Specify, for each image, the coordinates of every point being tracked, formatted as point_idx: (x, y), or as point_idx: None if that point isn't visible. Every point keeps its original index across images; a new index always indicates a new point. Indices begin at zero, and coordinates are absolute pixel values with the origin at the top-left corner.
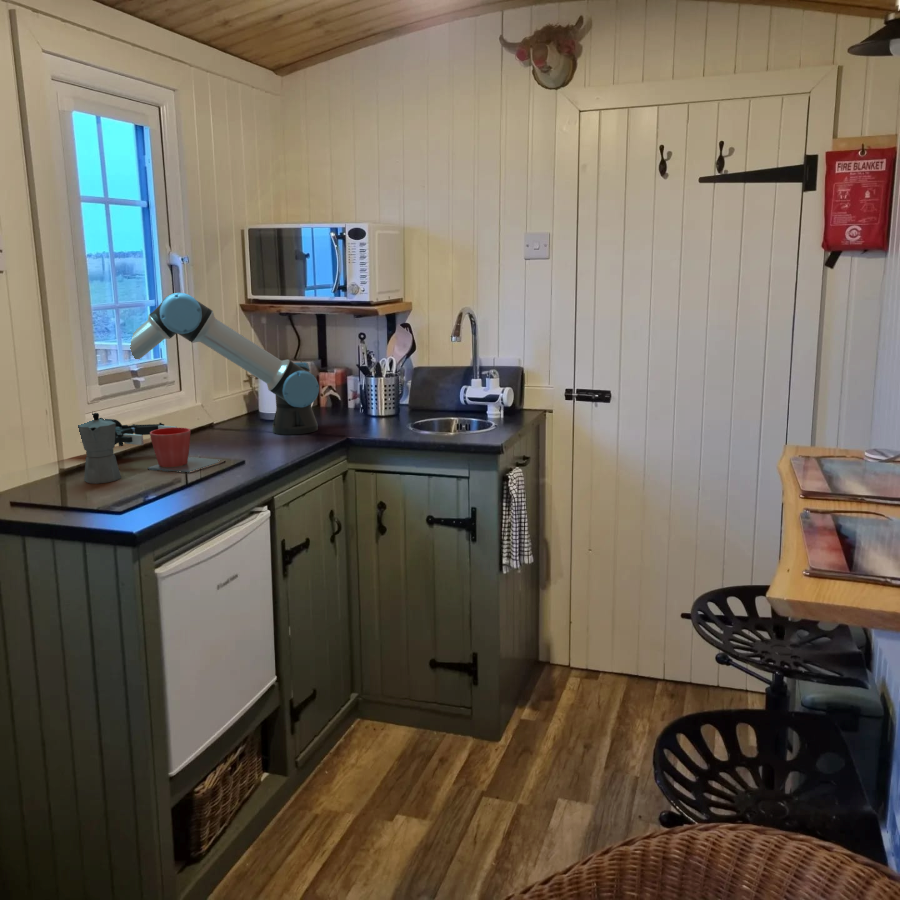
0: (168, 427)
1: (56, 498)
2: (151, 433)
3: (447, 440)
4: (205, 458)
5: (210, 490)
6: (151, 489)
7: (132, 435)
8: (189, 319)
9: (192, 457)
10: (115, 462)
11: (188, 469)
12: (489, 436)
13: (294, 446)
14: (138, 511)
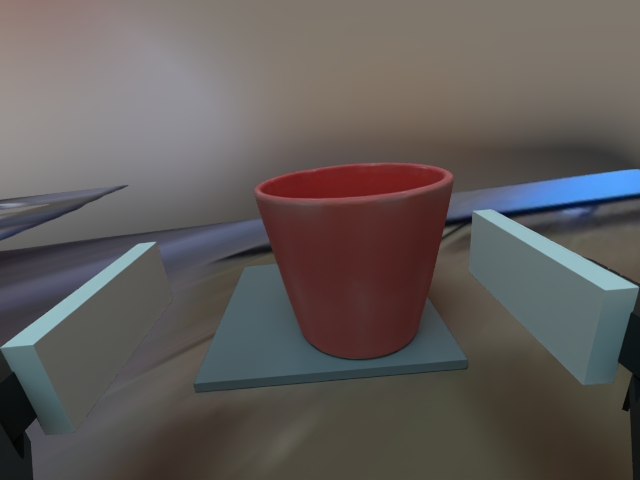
0: (126, 276)
1: None
2: (448, 177)
3: (74, 201)
4: (229, 306)
5: (456, 200)
6: (557, 232)
7: (539, 241)
8: None
9: (214, 346)
10: None
11: None
12: (62, 195)
13: (34, 270)
14: (619, 190)
